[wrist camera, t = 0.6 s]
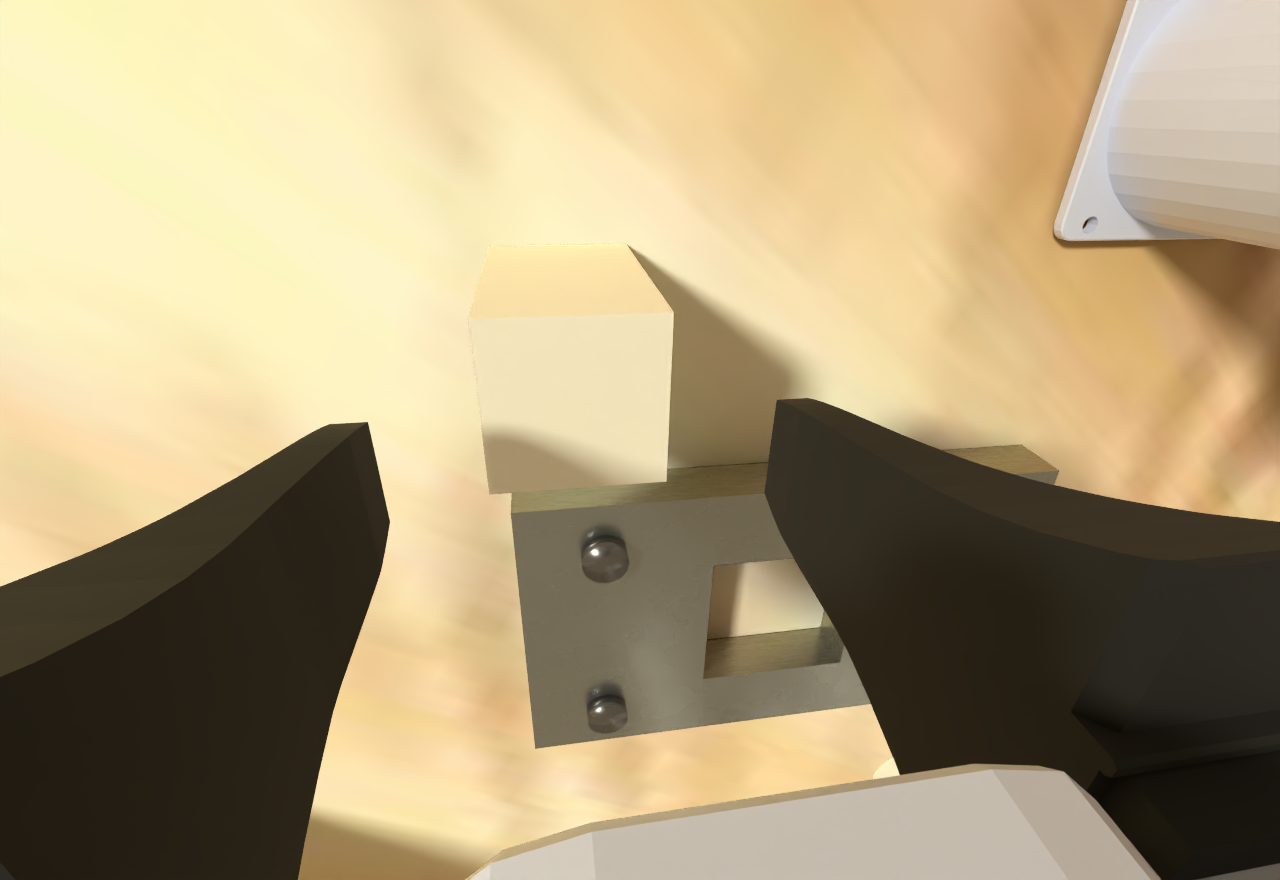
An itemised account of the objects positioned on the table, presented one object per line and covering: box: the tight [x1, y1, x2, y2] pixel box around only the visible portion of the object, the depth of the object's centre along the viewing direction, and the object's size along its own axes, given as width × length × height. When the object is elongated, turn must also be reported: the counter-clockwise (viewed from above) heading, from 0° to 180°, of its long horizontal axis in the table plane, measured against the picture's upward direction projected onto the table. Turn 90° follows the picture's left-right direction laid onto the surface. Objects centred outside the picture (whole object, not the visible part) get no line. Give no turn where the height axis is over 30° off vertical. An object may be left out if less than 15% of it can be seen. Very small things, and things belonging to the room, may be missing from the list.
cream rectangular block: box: [468, 244, 674, 494], centre depth 16 cm, size 4×4×7 cm
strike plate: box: [511, 445, 1059, 749], centre depth 25 cm, size 20×12×3 cm, turn 89°
